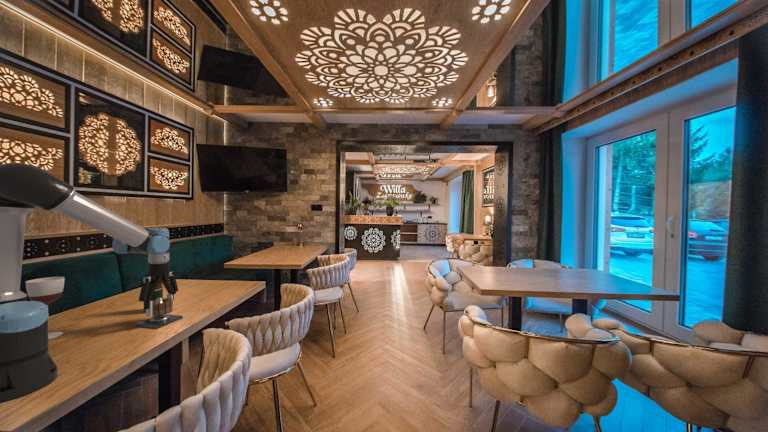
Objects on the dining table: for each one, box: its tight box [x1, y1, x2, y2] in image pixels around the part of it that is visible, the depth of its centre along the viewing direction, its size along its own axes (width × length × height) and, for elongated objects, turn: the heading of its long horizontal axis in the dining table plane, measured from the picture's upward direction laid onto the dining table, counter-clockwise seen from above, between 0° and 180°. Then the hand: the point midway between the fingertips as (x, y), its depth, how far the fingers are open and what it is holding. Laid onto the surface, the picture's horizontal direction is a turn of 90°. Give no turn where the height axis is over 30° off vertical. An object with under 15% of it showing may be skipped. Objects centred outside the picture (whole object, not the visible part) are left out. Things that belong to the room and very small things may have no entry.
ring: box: [152, 297, 174, 317], centre depth 128 cm, size 9×9×5 cm
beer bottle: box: [143, 262, 164, 314], centre depth 143 cm, size 8×8×24 cm
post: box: [134, 297, 184, 330], centre depth 128 cm, size 12×12×11 cm
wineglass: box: [25, 276, 66, 340], centre depth 113 cm, size 9×10×23 cm
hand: (159, 311), depth 128 cm, fingers closed on ring, 9 cm apart
